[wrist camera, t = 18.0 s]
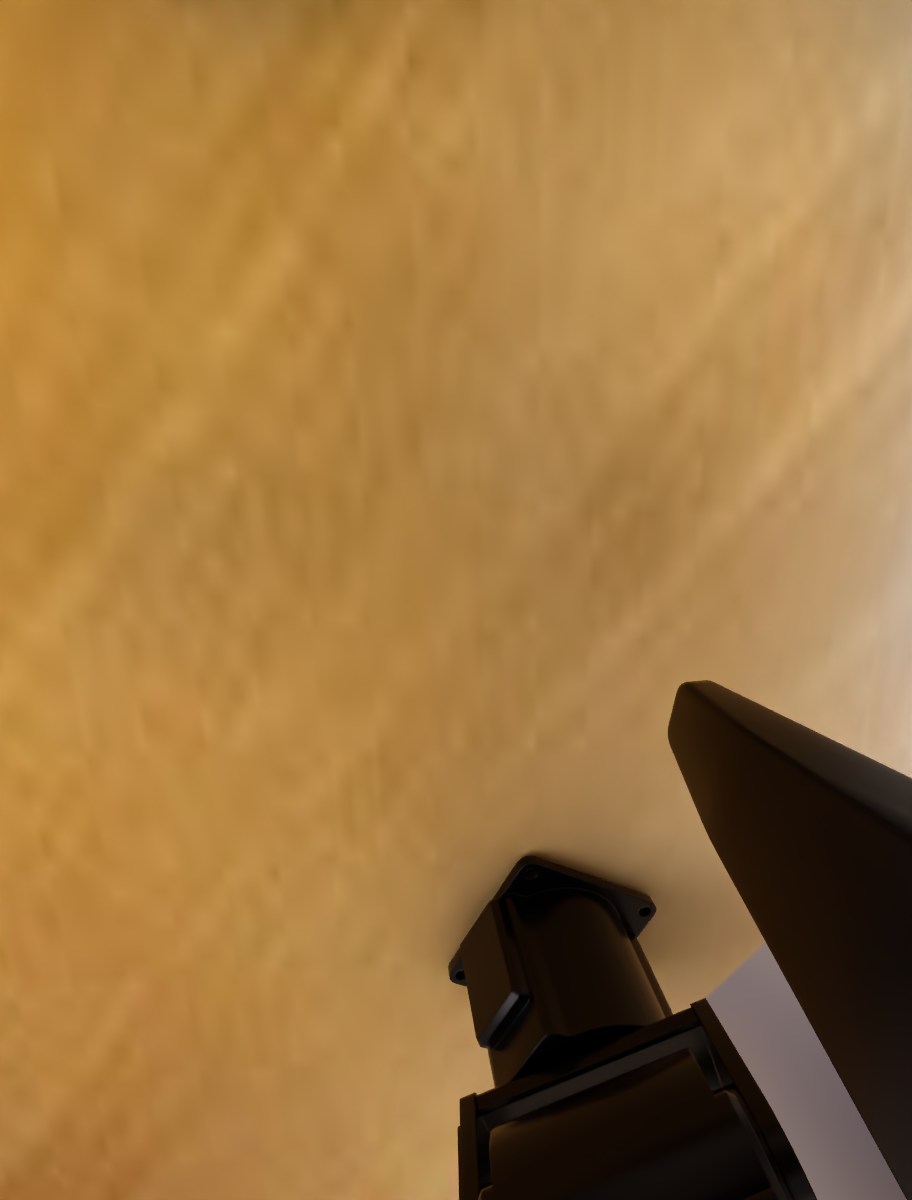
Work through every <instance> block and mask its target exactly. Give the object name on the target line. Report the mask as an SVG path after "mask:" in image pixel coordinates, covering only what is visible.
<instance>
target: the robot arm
mask: <svg viewBox="0 0 912 1200" xmlns="http://www.w3.org/2000/svg"><path fill="white" fill-rule="evenodd" d="M668 739H669V743H670V746H671V749H672V751H673V754H674V756H675V758H676V761H677V763H678V765H679V768H680V770H681V773H682V775H683V777H684V780H685V782H686V785H687V787H688V789H689V792H690V794H691V797H692V799H693V801H694V804H695V806H696V808H697V811H698V813H699V816H700V818H701V820H702V823H703V825H704V827H705V829H706V832H707V834H708V836H709V838H710V840H711V842H712V844H713V846H714V848H715V850H716V852H717V854H718V855H719V857H720V859H721V861H722V863H723V865H724V866H725V868H726V870H727V872H728V874H729V876H730V877H731V879H732V881H733V883H734V885H735V886H736V888H737V890H738V892H739V894H740V896H741V897H742V899H743V901H744V903H745V905H746V907H747V908H748V910H749V912H750V914H751V916H752V918H753V919H754V921H755V923H756V925H757V927H758V929H759V930H760V932H761V934H762V936H763V938H764V939H765V941H766V943H767V945H768V947H769V949H770V950H771V952H772V954H773V956H774V958H775V959H776V961H777V963H778V965H779V967H780V969H781V971H782V972H783V974H784V976H785V978H786V980H787V982H788V983H789V985H790V987H791V989H792V991H793V992H794V994H795V996H796V998H797V1000H798V1002H799V1003H800V1005H801V1007H802V1009H803V1010H804V1013H805V1014H806V1016H807V1018H808V1020H809V1022H810V1023H811V1025H812V1027H813V1029H814V1031H815V1033H816V1034H817V1036H818V1038H819V1040H820V1042H821V1044H822V1045H823V1047H824V1049H825V1051H826V1053H827V1054H828V1056H829V1058H830V1060H831V1062H832V1064H833V1066H834V1067H835V1069H836V1071H837V1073H838V1075H839V1077H840V1078H841V1080H842V1082H843V1084H844V1086H845V1087H846V1089H847V1091H848V1093H849V1095H850V1097H851V1098H852V1100H853V1102H854V1104H855V1106H856V1107H857V1109H858V1111H859V1113H860V1115H861V1117H862V1118H863V1120H864V1122H865V1124H866V1126H867V1128H868V1130H869V1131H870V1133H871V1135H872V1137H873V1139H874V1140H875V1142H876V1144H877V1146H878V1147H879V1150H880V1151H881V1153H882V1155H883V1157H884V1159H885V1160H886V1162H887V1164H888V1166H889V1168H890V1170H891V1172H892V1173H893V1175H894V1177H895V1179H896V1181H897V1182H898V1184H899V1186H900V1188H901V1190H902V1192H903V1193H904V1195H905V1197H906V1199H907V1200H912V778H910V777H908V776H906V775H904V774H902V773H900V772H897V771H895V770H893V769H891V768H889V767H887V766H885V765H883V764H881V763H879V762H877V761H875V760H873V759H871V758H869V757H867V756H865V755H862V754H860V753H858V752H856V751H854V750H852V749H850V748H848V747H846V746H844V745H842V744H840V743H838V742H836V741H834V740H832V739H830V738H828V737H825V736H823V735H821V734H819V733H817V732H815V731H813V730H811V729H809V728H807V727H805V726H803V725H801V724H799V723H797V722H795V721H793V720H791V719H788V718H786V717H784V716H782V715H780V714H778V713H776V712H774V711H772V710H770V709H768V708H766V707H764V706H762V705H760V704H758V703H756V702H754V701H752V700H749V699H747V698H745V697H743V696H741V695H739V694H737V693H735V692H733V691H731V690H729V689H727V688H725V687H723V686H721V685H719V684H717V683H715V682H712V681H708V680H703V681H691V682H684V683H683V684H681V685H680V686H679V688H678V690H677V693H676V697H675V701H674V705H673V709H672V714H671V718H670V722H669V726H668ZM528 869H532V870H531V871H526V870H528ZM643 907H644V908H643ZM655 912H656V907H655V905H654V903H653V901H652V899H651V897H649V896H648V895H645V894H642V893H640V892H637V891H634V890H631V889H628V888H625V887H622V886H619V885H616V884H613V883H610V882H607V881H605V880H602V879H599V878H596V877H593V876H590V875H587V874H584V873H581V872H578V871H575V870H572V869H570V868H567V867H564V866H561V865H558V864H555V863H552V862H549V861H546V860H543V859H540V858H537V857H535V856H526V857H523V858H522V859H520V860H519V861H518V862H517V863H516V865H515V866H514V868H513V869H512V871H511V872H510V874H509V875H508V877H507V878H506V880H505V881H504V883H503V884H502V886H501V887H500V889H499V890H498V892H497V893H496V895H495V896H494V898H493V899H492V900H491V901H490V902H489V903H488V904H487V906H486V907H485V909H484V910H483V912H482V913H481V915H480V916H479V918H478V919H477V921H476V922H475V924H474V925H473V927H472V928H471V930H470V931H469V933H468V934H467V936H466V937H465V939H464V940H463V942H462V943H461V945H460V948H459V950H458V951H457V953H456V954H455V956H454V957H453V959H452V960H451V962H450V963H449V966H448V970H449V976H450V980H451V981H452V982H454V983H456V984H459V985H463V986H467V988H468V994H469V1000H470V1005H471V1011H472V1016H473V1022H474V1028H475V1033H476V1038H477V1041H478V1043H479V1045H480V1047H483V1048H487V1049H488V1054H489V1059H490V1064H491V1069H492V1074H493V1080H494V1085H495V1088H493V1089H491V1090H489V1091H486V1092H484V1093H481V1094H479V1095H477V1094H476V1093H473V1094H470V1095H468V1096H465V1097H463V1098H461V1099H460V1126H459V1127H458V1166H459V1200H817V1198H816V1196H815V1194H814V1192H813V1189H812V1187H811V1186H810V1183H809V1181H808V1179H807V1177H806V1175H805V1173H804V1171H803V1168H802V1166H801V1164H800V1163H799V1160H798V1158H797V1156H796V1154H795V1153H794V1150H793V1148H792V1146H791V1145H790V1142H789V1141H788V1139H787V1137H786V1135H785V1133H784V1131H783V1129H782V1128H781V1125H780V1124H779V1122H778V1120H777V1118H776V1116H775V1114H774V1112H773V1111H772V1109H771V1107H770V1105H769V1104H768V1102H767V1100H766V1098H765V1097H764V1095H763V1093H762V1092H761V1090H760V1088H759V1087H758V1085H757V1083H756V1082H755V1080H754V1078H753V1077H752V1075H751V1073H750V1071H749V1070H748V1068H747V1067H746V1065H745V1063H744V1062H743V1060H742V1058H741V1056H740V1055H739V1053H738V1052H737V1050H736V1048H735V1047H734V1045H733V1043H732V1041H731V1040H730V1038H729V1036H728V1035H727V1033H726V1032H725V1030H724V1028H723V1026H722V1025H721V1023H720V1022H719V1020H718V1018H717V1016H716V1015H715V1013H714V1011H713V1010H712V1008H711V1006H710V1005H709V1003H708V1002H707V1000H706V998H704V999H702V1000H699V1001H697V1002H694V1003H692V1004H690V1005H691V1008H688V1009H686V1010H683V1011H681V1012H678V1013H676V1014H674V1015H673V1013H672V1011H671V1009H670V1007H669V1005H668V1003H667V1001H666V998H665V996H664V994H663V992H662V990H661V988H660V986H659V984H658V982H657V979H656V977H655V975H654V973H653V971H652V969H651V967H650V965H649V963H648V960H647V958H646V956H645V954H644V952H643V950H642V948H641V946H640V944H639V941H638V939H637V937H638V936H639V934H640V933H641V932H642V930H643V929H644V928H645V926H646V925H647V924H648V922H649V921H650V920H651V919H652V917H653V916H654V914H655ZM461 970H462V971H461Z"/></svg>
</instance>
